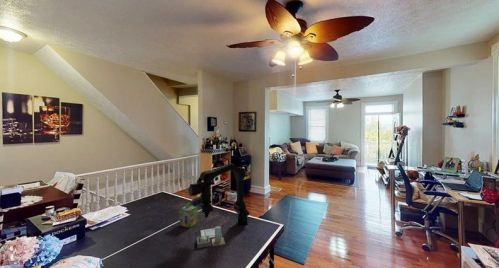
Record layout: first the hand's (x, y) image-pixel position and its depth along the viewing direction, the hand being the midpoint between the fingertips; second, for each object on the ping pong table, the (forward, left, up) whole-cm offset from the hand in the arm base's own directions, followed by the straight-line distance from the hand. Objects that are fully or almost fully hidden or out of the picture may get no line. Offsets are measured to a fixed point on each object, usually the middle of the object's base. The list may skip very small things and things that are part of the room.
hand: (206, 217), depth 124 cm
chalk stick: (-6, +8, -12) cm, 15 cm away
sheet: (-3, -3, -12) cm, 13 cm away
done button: (+3, +7, -12) cm, 14 cm away
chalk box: (+10, -20, -12) cm, 26 cm away
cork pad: (-6, +8, -12) cm, 16 cm away
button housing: (+2, +7, -12) cm, 14 cm away
